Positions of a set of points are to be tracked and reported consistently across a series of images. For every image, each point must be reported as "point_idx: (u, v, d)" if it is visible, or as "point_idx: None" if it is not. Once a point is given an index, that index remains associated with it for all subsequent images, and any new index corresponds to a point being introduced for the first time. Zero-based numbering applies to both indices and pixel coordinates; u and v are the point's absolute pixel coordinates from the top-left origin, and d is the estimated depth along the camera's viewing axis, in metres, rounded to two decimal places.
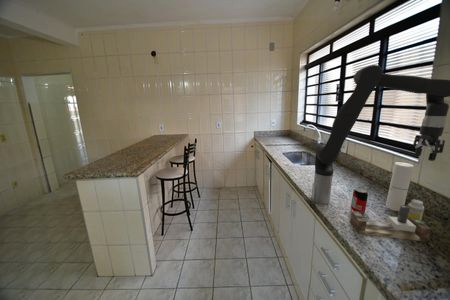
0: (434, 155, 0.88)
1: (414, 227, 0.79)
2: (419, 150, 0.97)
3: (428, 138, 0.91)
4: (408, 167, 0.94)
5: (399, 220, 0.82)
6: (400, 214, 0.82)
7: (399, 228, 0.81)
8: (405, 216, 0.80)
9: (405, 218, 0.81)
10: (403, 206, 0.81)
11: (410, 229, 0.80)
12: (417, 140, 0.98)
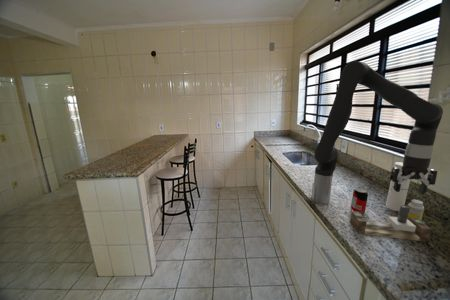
0: None
1: (414, 227, 0.79)
2: None
3: (419, 170, 0.75)
4: None
5: (399, 220, 0.82)
6: (400, 214, 0.82)
7: (399, 228, 0.81)
8: (405, 216, 0.80)
9: (405, 218, 0.81)
10: (403, 206, 0.81)
11: (410, 229, 0.80)
12: None
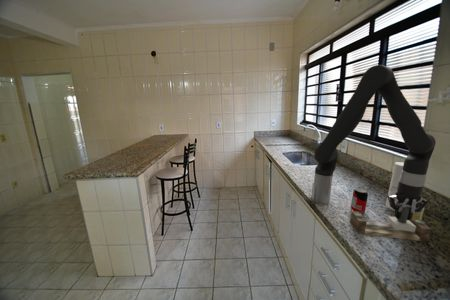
0: None
1: (414, 227, 0.79)
2: None
3: (413, 197, 0.78)
4: None
5: (399, 220, 0.82)
6: None
7: (399, 228, 0.81)
8: (405, 216, 0.80)
9: (405, 218, 0.81)
10: None
11: (410, 229, 0.80)
12: None
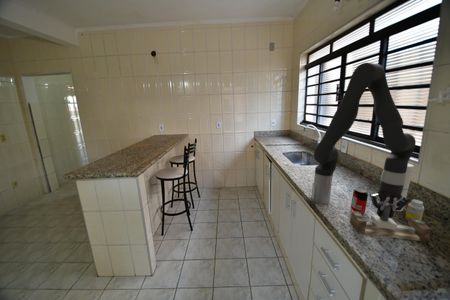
0: None
1: (395, 225, 0.81)
2: None
3: (394, 195, 0.80)
4: (408, 167, 0.94)
5: (381, 218, 0.84)
6: None
7: (381, 226, 0.82)
8: (386, 214, 0.82)
9: (387, 216, 0.82)
10: None
11: (391, 227, 0.81)
12: None
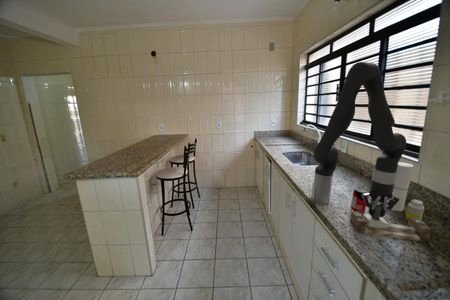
0: None
1: (386, 224, 0.82)
2: None
3: (385, 194, 0.81)
4: (408, 167, 0.94)
5: (373, 217, 0.84)
6: None
7: (372, 225, 0.83)
8: (378, 214, 0.83)
9: (378, 215, 0.83)
10: None
11: (383, 226, 0.82)
12: None
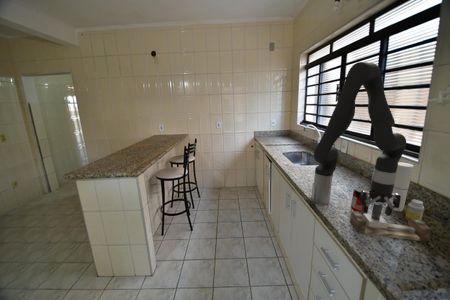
0: None
1: (386, 224, 0.82)
2: None
3: (384, 194, 0.81)
4: (408, 167, 0.94)
5: (372, 217, 0.84)
6: (373, 211, 0.84)
7: (372, 225, 0.83)
8: (378, 214, 0.83)
9: (378, 215, 0.83)
10: (376, 203, 0.84)
11: (382, 226, 0.82)
12: None
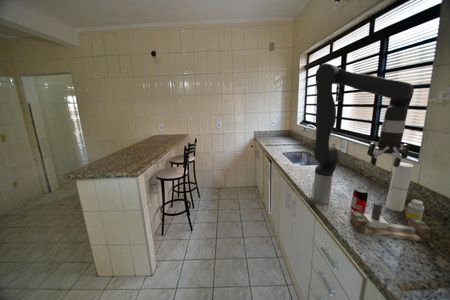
0: None
1: (386, 224, 0.82)
2: None
3: (393, 145, 0.82)
4: (408, 167, 0.94)
5: (372, 217, 0.84)
6: (373, 211, 0.84)
7: (372, 225, 0.83)
8: (378, 214, 0.83)
9: (378, 215, 0.83)
10: (376, 203, 0.84)
11: (382, 226, 0.82)
12: None
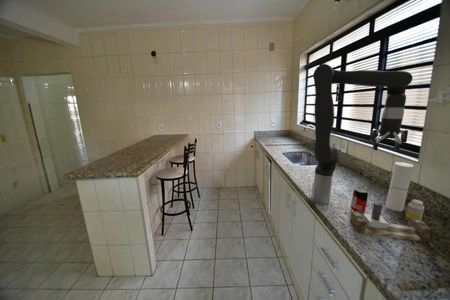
0: None
1: (386, 224, 0.82)
2: None
3: (393, 130, 0.89)
4: (408, 167, 0.94)
5: (372, 217, 0.84)
6: (373, 211, 0.84)
7: (372, 225, 0.83)
8: (378, 214, 0.83)
9: (378, 215, 0.83)
10: (376, 203, 0.84)
11: (382, 226, 0.82)
12: None
